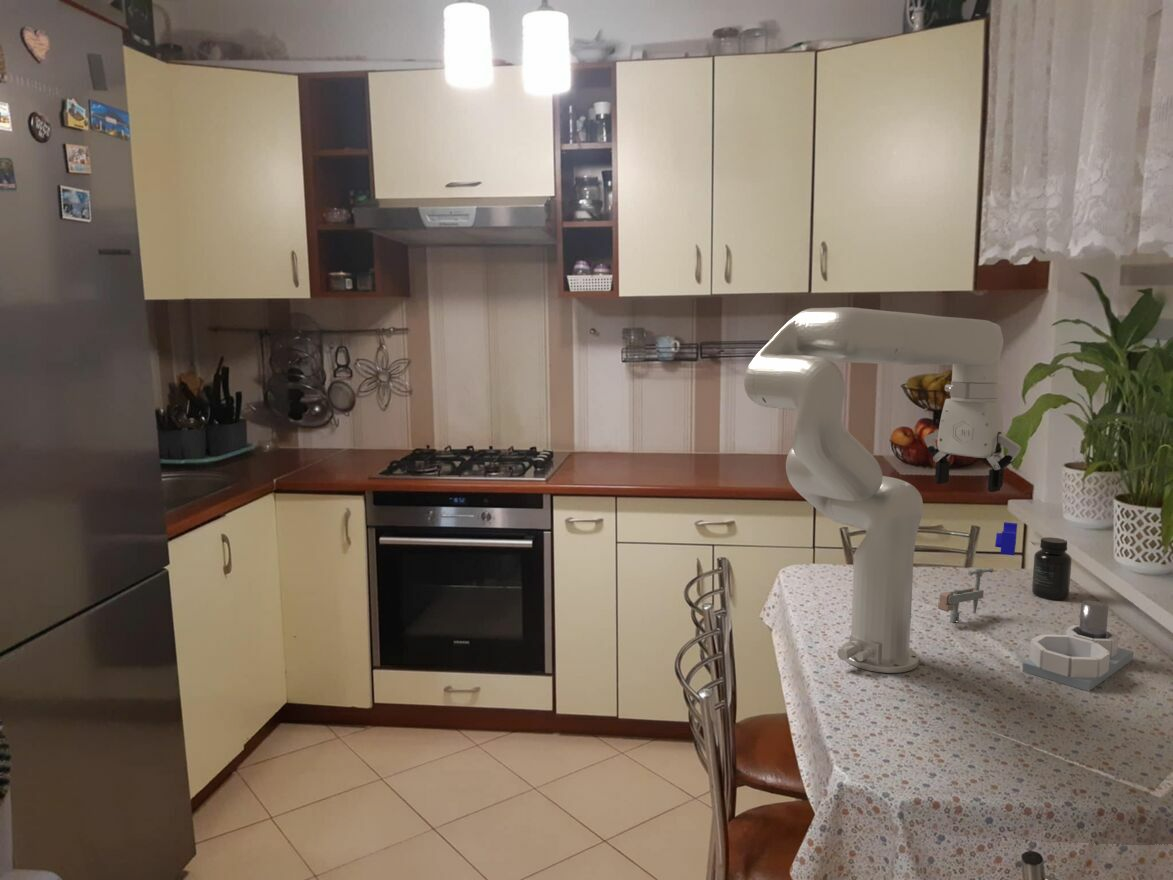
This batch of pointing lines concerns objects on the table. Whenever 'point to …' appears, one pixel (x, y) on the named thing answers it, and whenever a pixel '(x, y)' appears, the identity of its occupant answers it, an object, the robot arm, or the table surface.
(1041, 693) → the table surface
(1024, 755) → the table surface
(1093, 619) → the grey cylinder
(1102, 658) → the fitting plate
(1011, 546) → the blue block
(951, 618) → the clamp
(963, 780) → the table surface
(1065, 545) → the supplement bottle
